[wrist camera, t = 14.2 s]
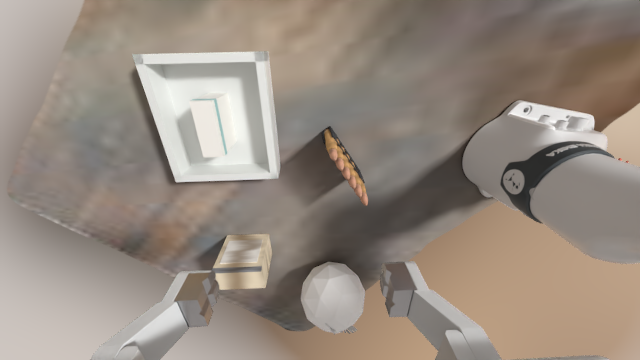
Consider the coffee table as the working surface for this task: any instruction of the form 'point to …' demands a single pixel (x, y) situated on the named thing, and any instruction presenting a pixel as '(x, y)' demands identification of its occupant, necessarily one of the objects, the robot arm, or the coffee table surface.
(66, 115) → the coffee table surface
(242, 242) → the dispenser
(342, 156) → the ammunition clip
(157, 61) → the tray
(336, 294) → the geodesic sphere
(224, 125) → the teal-striped white carton
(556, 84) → the coffee table surface
